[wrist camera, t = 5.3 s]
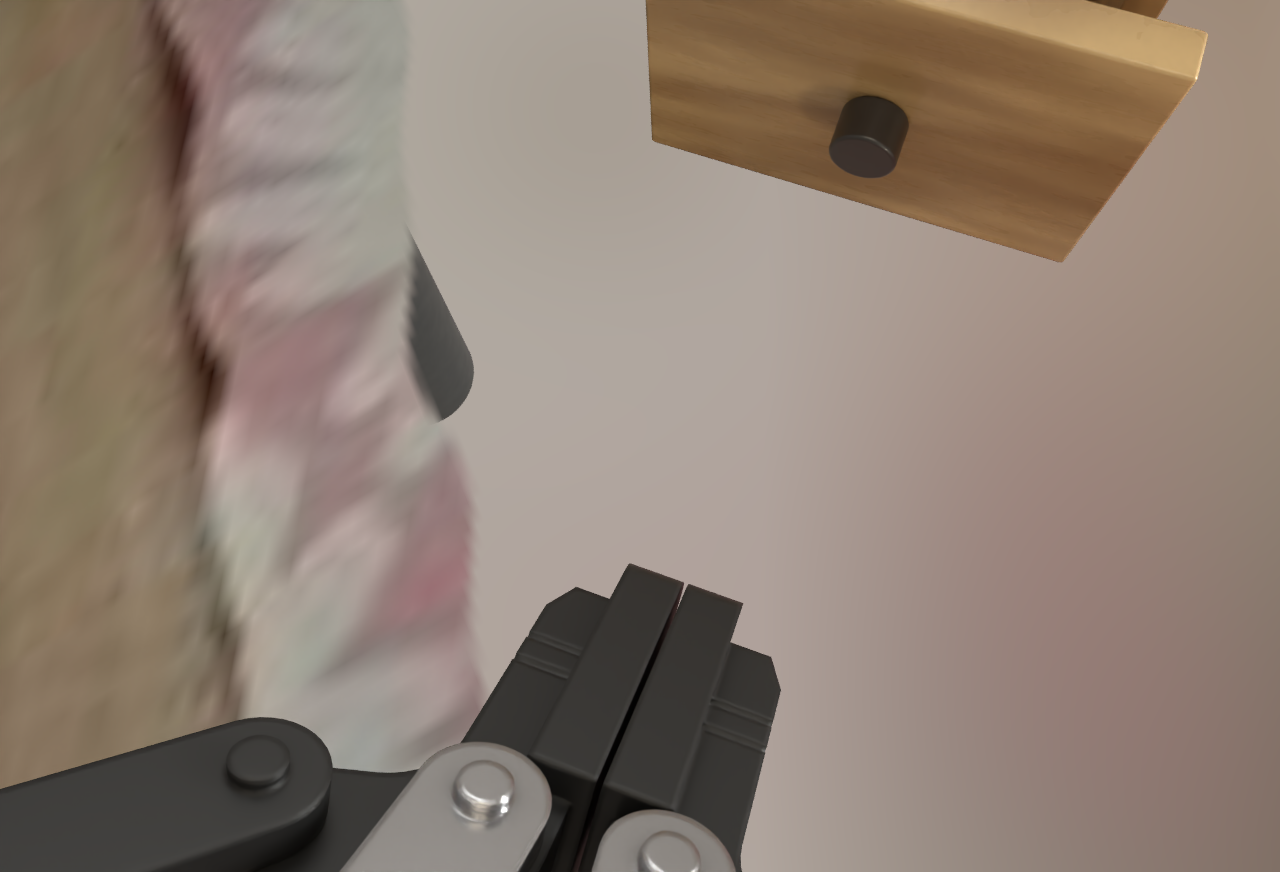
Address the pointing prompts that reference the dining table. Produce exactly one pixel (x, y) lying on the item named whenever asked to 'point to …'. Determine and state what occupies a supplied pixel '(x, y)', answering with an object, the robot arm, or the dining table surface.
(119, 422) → the dining table surface
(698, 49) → the wooden drawer with knob
